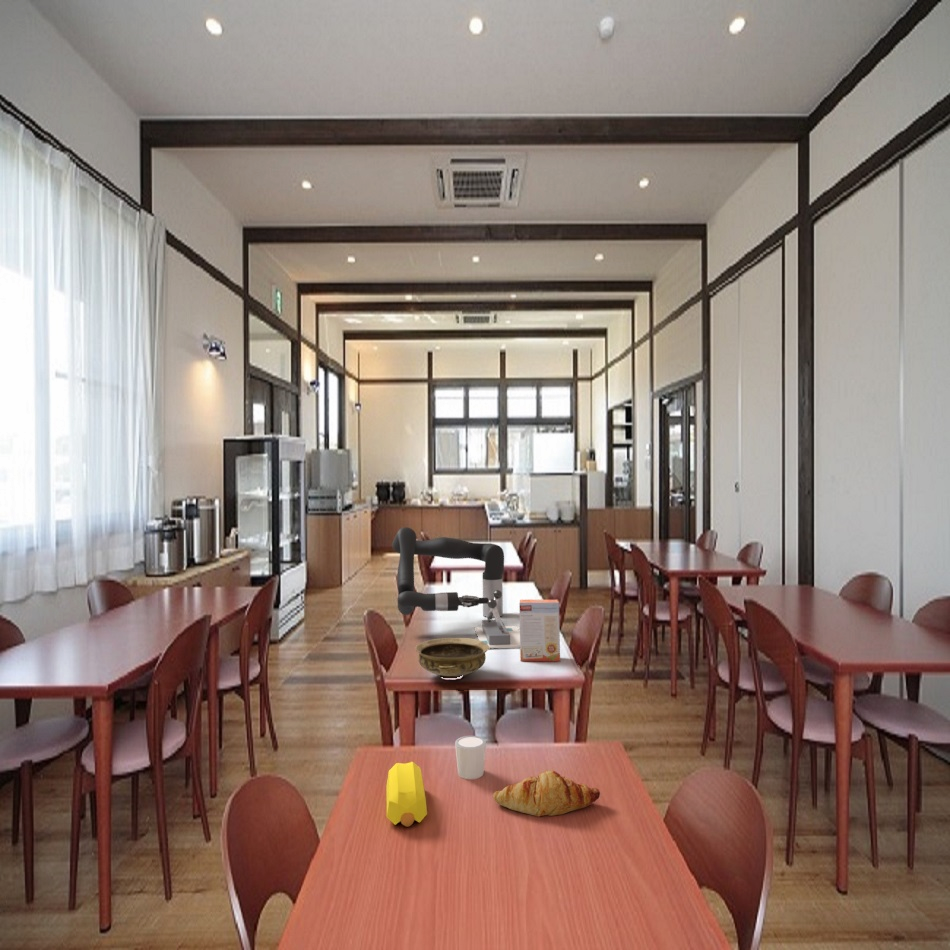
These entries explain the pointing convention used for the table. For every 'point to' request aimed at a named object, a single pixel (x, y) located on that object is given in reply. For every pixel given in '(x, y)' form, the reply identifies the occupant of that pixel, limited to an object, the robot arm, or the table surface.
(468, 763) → the shot glass
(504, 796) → the croissant
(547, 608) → the cracker box
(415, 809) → the yellow faceted prism
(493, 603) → the lever outer
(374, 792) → the table surface
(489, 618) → the lever inner
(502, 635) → the switch unit
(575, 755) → the table surface
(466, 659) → the ceramic bowl
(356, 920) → the table surface
